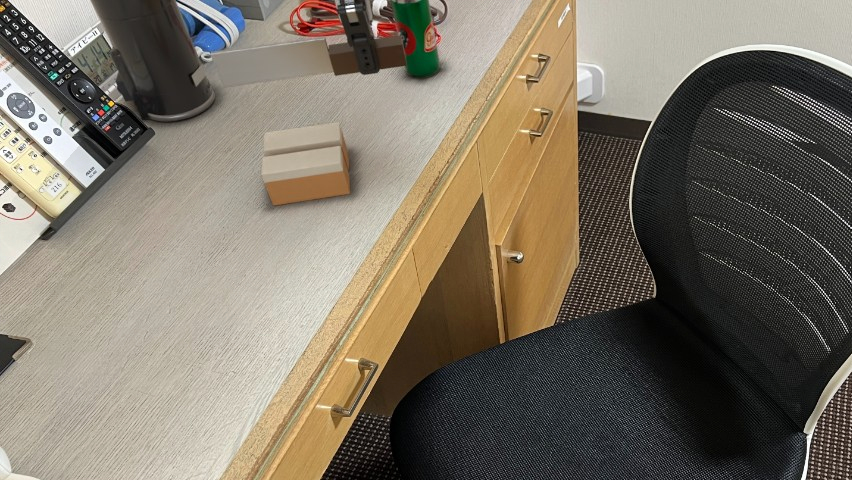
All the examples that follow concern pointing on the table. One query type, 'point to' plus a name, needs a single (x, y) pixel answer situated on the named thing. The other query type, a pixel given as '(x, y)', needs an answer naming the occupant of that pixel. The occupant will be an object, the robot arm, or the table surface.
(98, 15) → the robot arm
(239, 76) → the knife
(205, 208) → the table surface
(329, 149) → the cake slice
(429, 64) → the soda can
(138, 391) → the table surface
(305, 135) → the cake
